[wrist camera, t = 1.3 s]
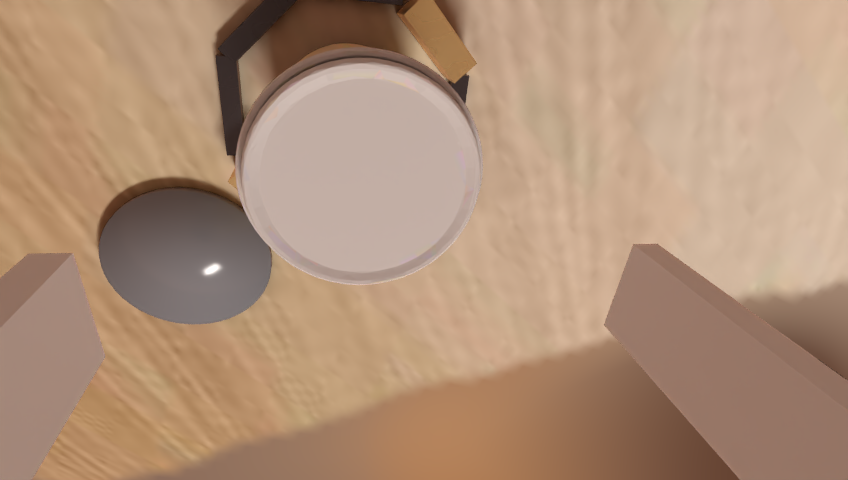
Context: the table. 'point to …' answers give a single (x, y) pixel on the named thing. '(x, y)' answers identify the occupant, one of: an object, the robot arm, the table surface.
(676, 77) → the table surface
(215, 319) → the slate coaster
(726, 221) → the table surface
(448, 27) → the socket ring
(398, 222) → the coffee cup
